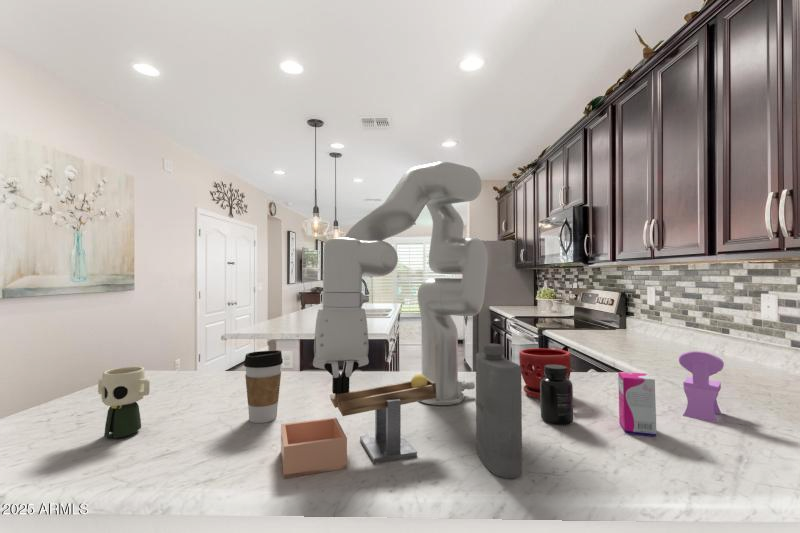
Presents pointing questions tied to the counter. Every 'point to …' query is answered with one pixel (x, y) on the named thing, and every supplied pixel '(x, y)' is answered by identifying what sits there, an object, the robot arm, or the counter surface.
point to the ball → (419, 381)
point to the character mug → (123, 399)
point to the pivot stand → (388, 435)
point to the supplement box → (637, 403)
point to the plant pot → (540, 366)
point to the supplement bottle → (556, 396)
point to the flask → (498, 412)
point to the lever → (381, 397)
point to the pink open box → (312, 447)
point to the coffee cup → (263, 384)
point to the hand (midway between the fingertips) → (340, 396)
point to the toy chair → (701, 384)
